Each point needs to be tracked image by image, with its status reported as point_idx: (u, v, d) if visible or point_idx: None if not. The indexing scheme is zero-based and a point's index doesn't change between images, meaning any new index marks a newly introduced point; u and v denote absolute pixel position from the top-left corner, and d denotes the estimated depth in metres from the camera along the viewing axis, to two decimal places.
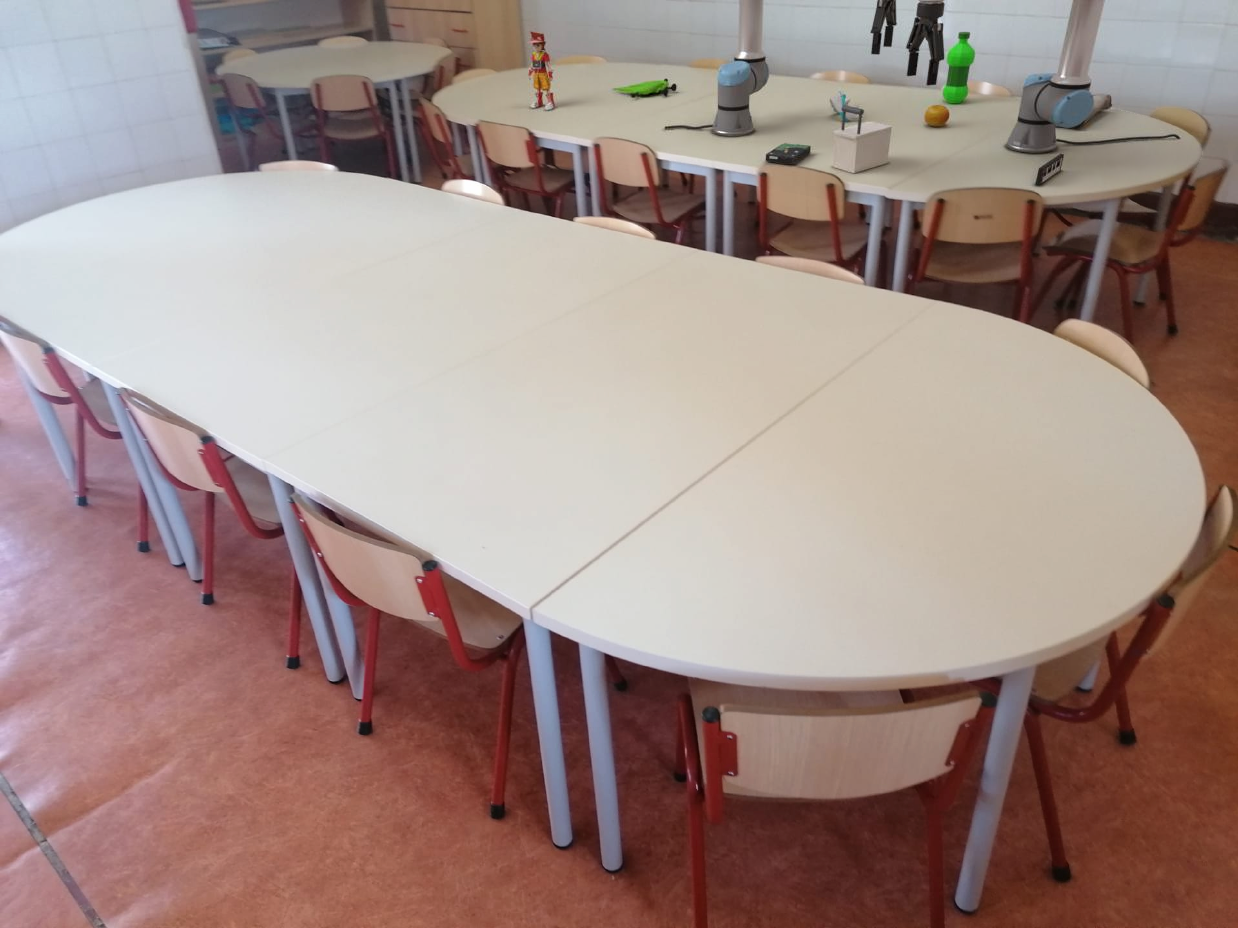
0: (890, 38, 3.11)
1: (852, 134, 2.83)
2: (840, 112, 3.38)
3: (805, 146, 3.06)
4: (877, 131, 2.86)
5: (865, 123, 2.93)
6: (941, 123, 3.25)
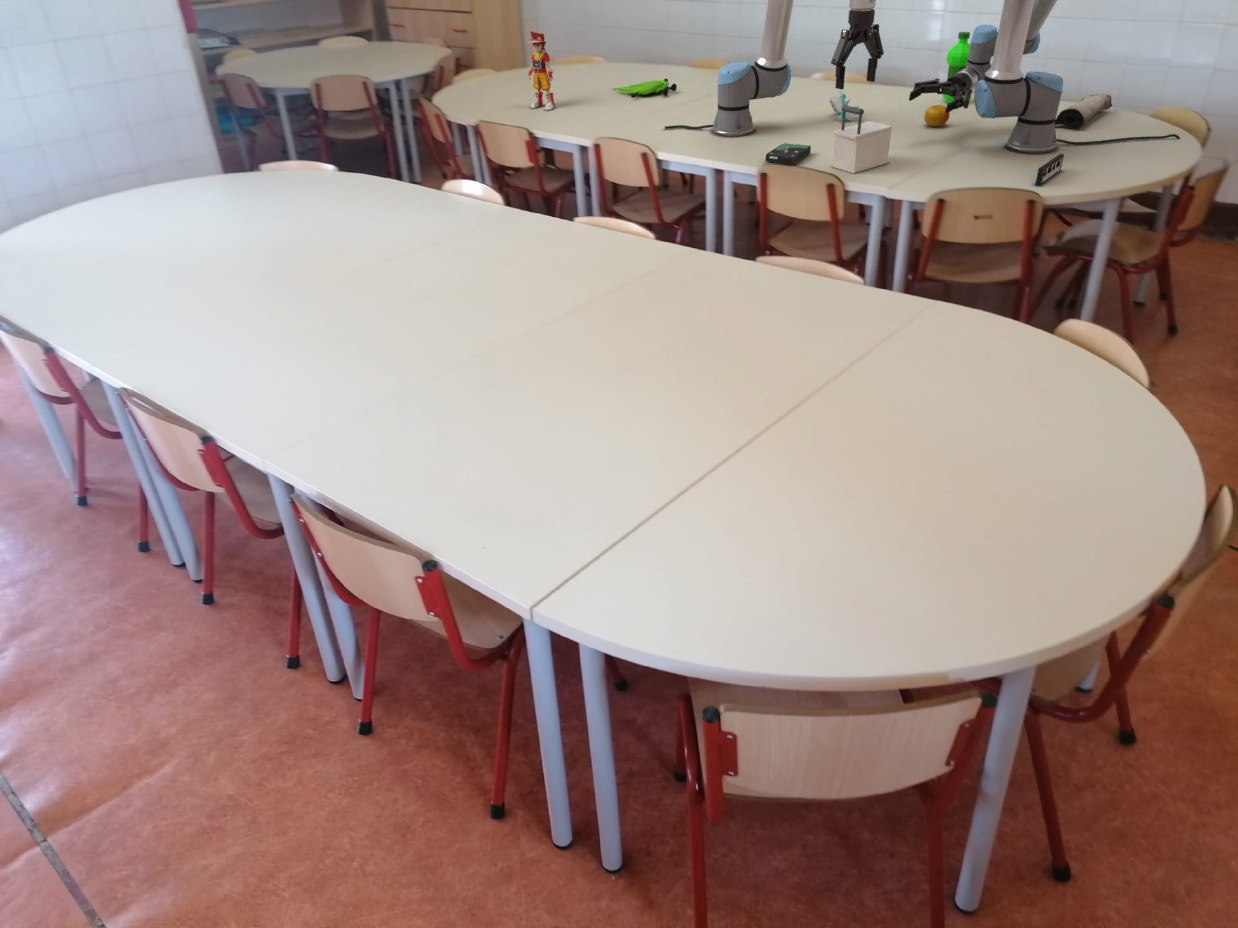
0: (872, 72, 2.78)
1: (852, 134, 2.83)
2: (840, 112, 3.38)
3: (805, 146, 3.06)
4: (877, 131, 2.86)
5: (865, 123, 2.93)
6: (941, 123, 3.25)
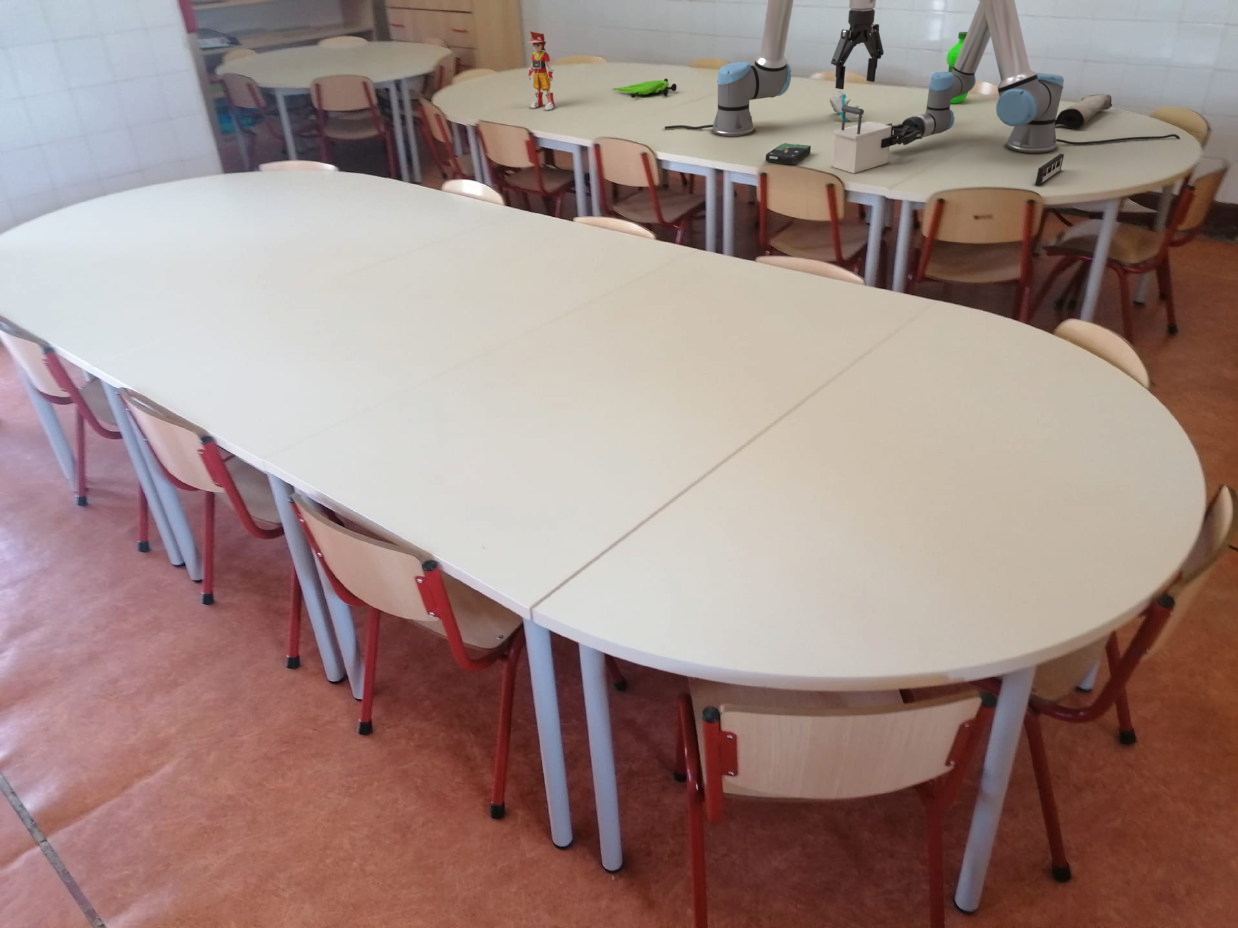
0: (872, 72, 2.78)
1: (852, 134, 2.83)
2: (840, 112, 3.38)
3: (805, 146, 3.06)
4: (877, 131, 2.86)
5: (865, 123, 2.93)
6: None
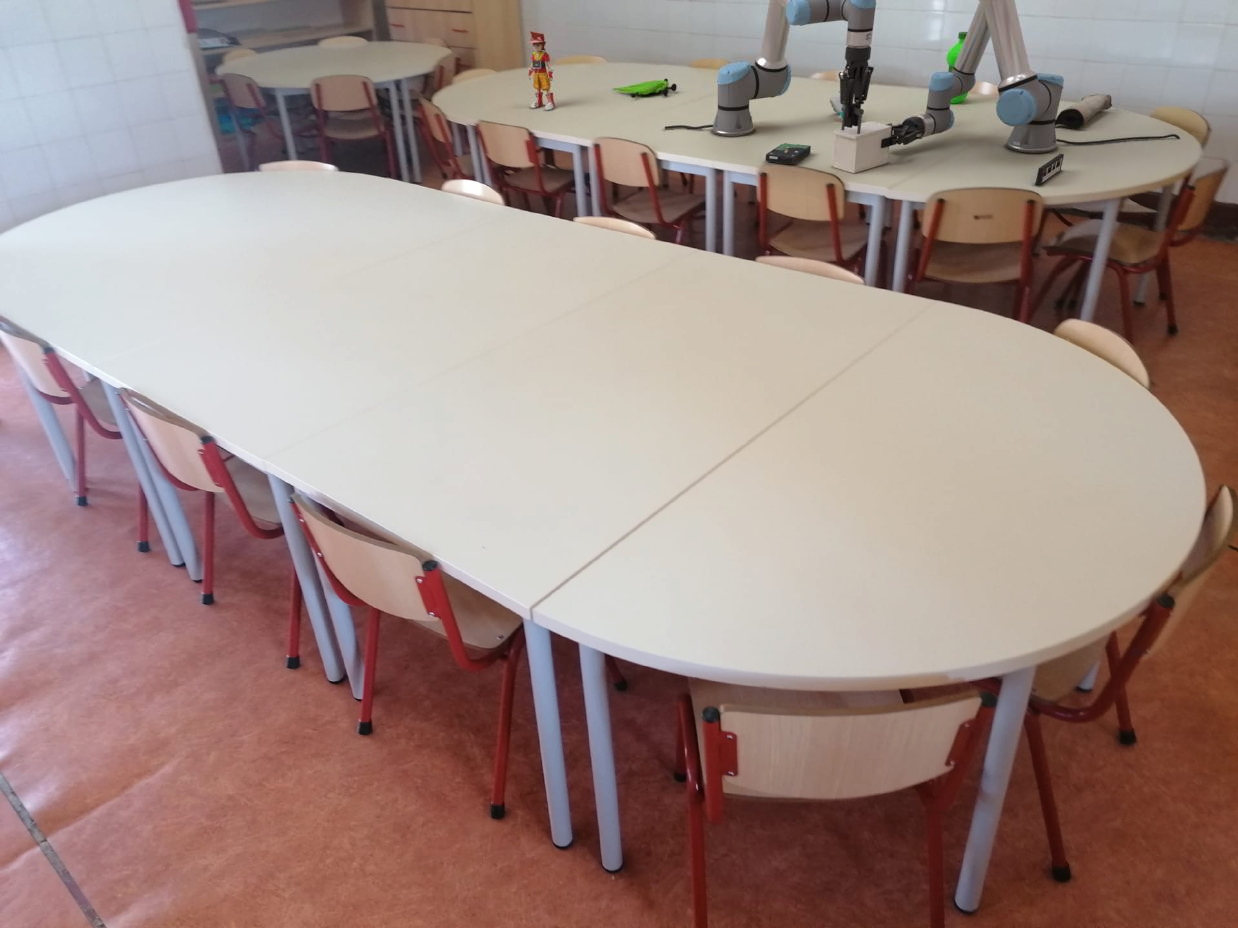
0: (856, 117, 2.83)
1: (852, 134, 2.83)
2: (840, 112, 3.38)
3: (805, 146, 3.06)
4: (877, 131, 2.86)
5: (865, 123, 2.93)
6: None
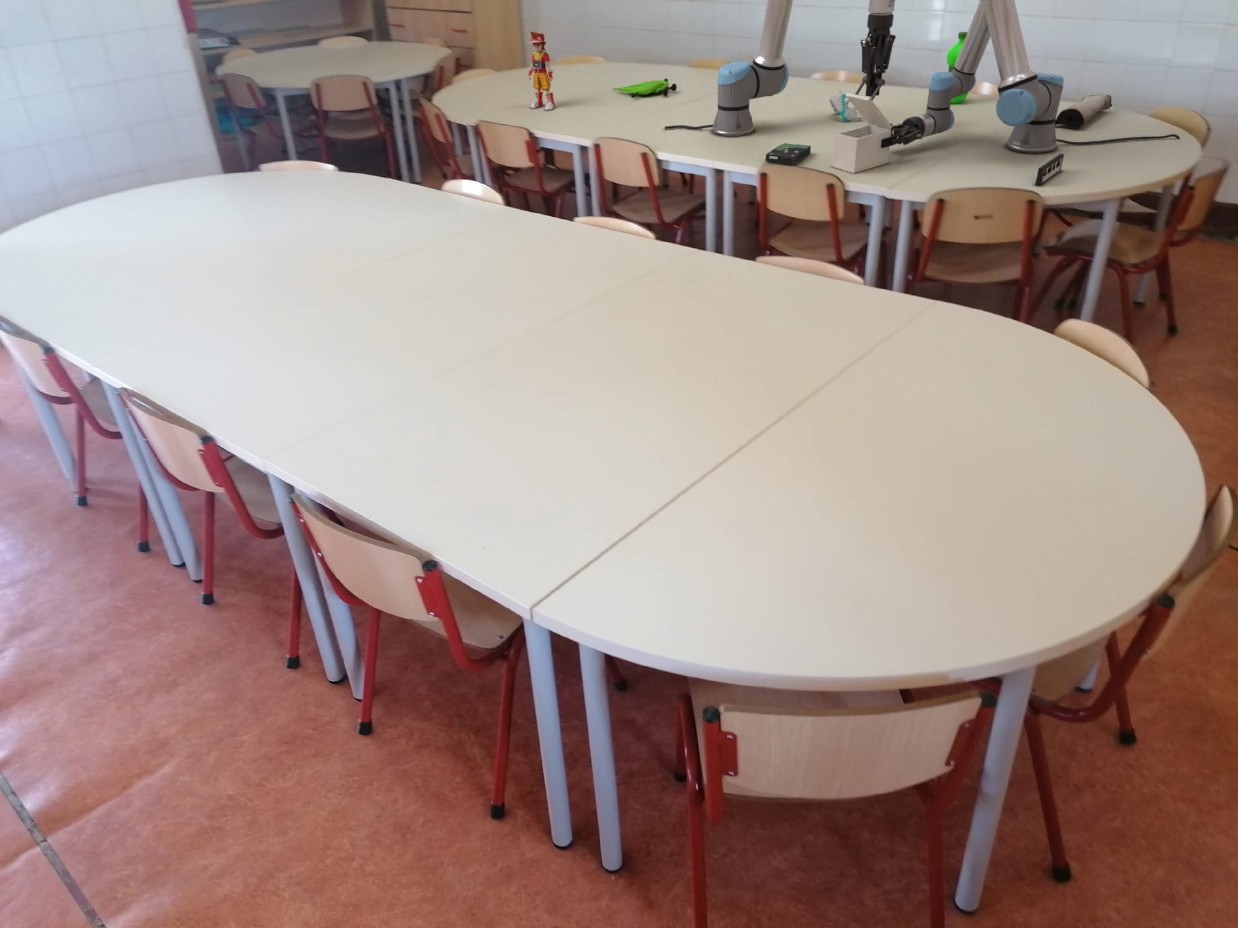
0: (877, 86, 2.82)
1: None
2: (840, 112, 3.38)
3: (805, 146, 3.06)
4: (882, 116, 2.84)
5: None
6: None
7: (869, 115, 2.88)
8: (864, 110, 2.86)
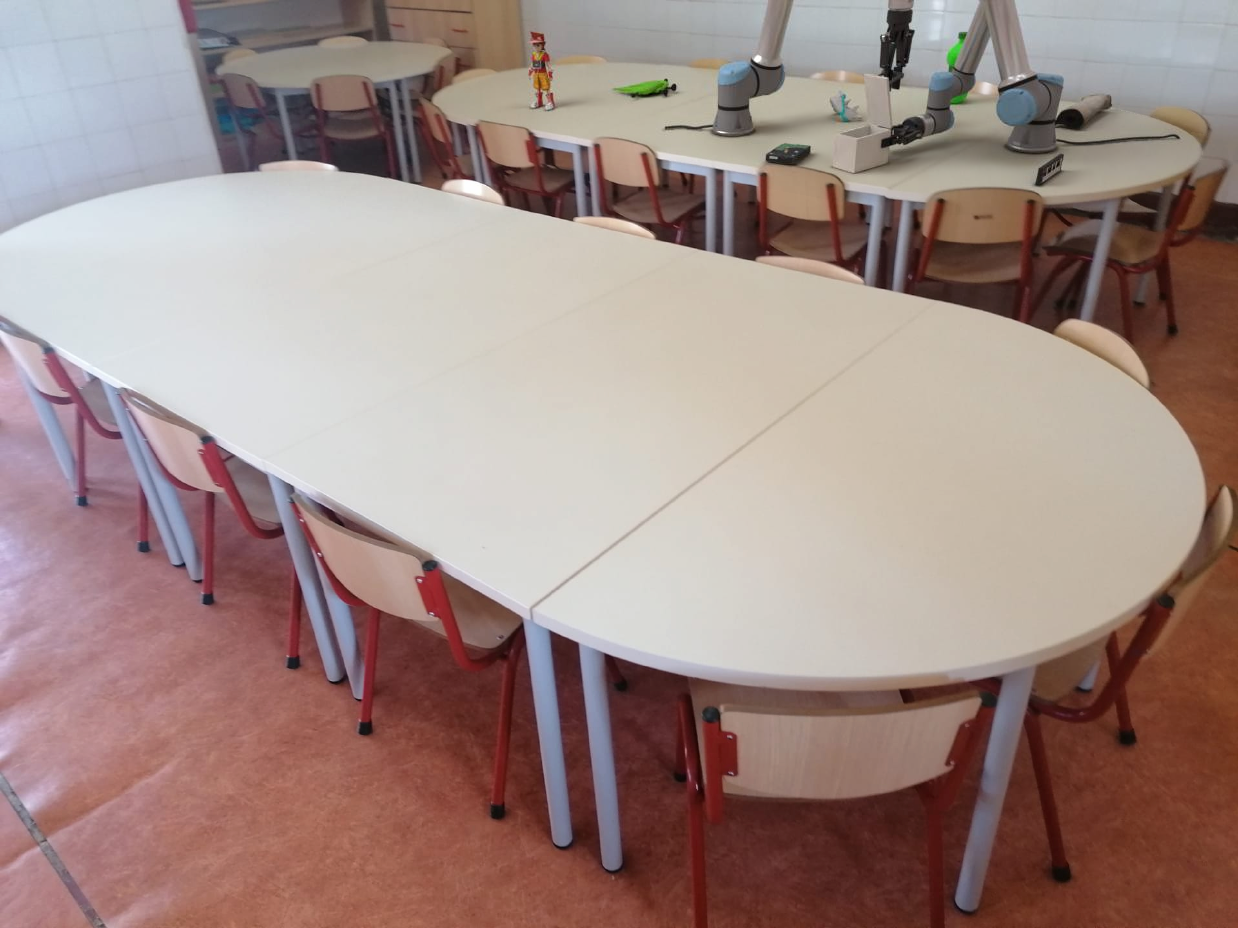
0: (897, 80, 2.86)
1: None
2: (840, 112, 3.38)
3: (805, 146, 3.06)
4: (890, 108, 2.85)
5: None
6: None
7: (876, 107, 2.88)
8: (874, 98, 2.86)
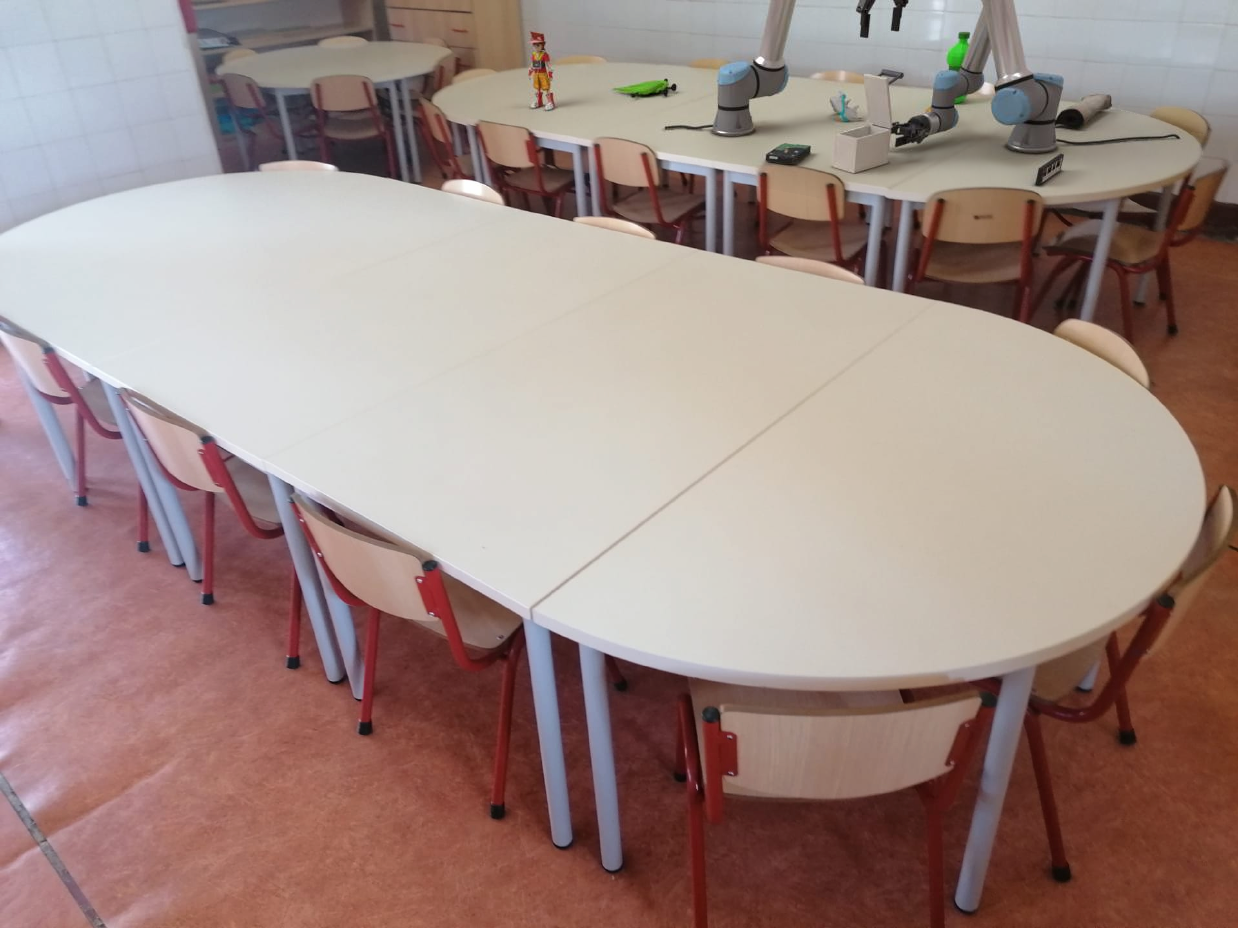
0: (897, 21, 2.75)
1: None
2: (840, 112, 3.38)
3: (805, 146, 3.06)
4: (890, 108, 2.85)
5: None
6: None
7: (876, 107, 2.88)
8: (874, 98, 2.86)
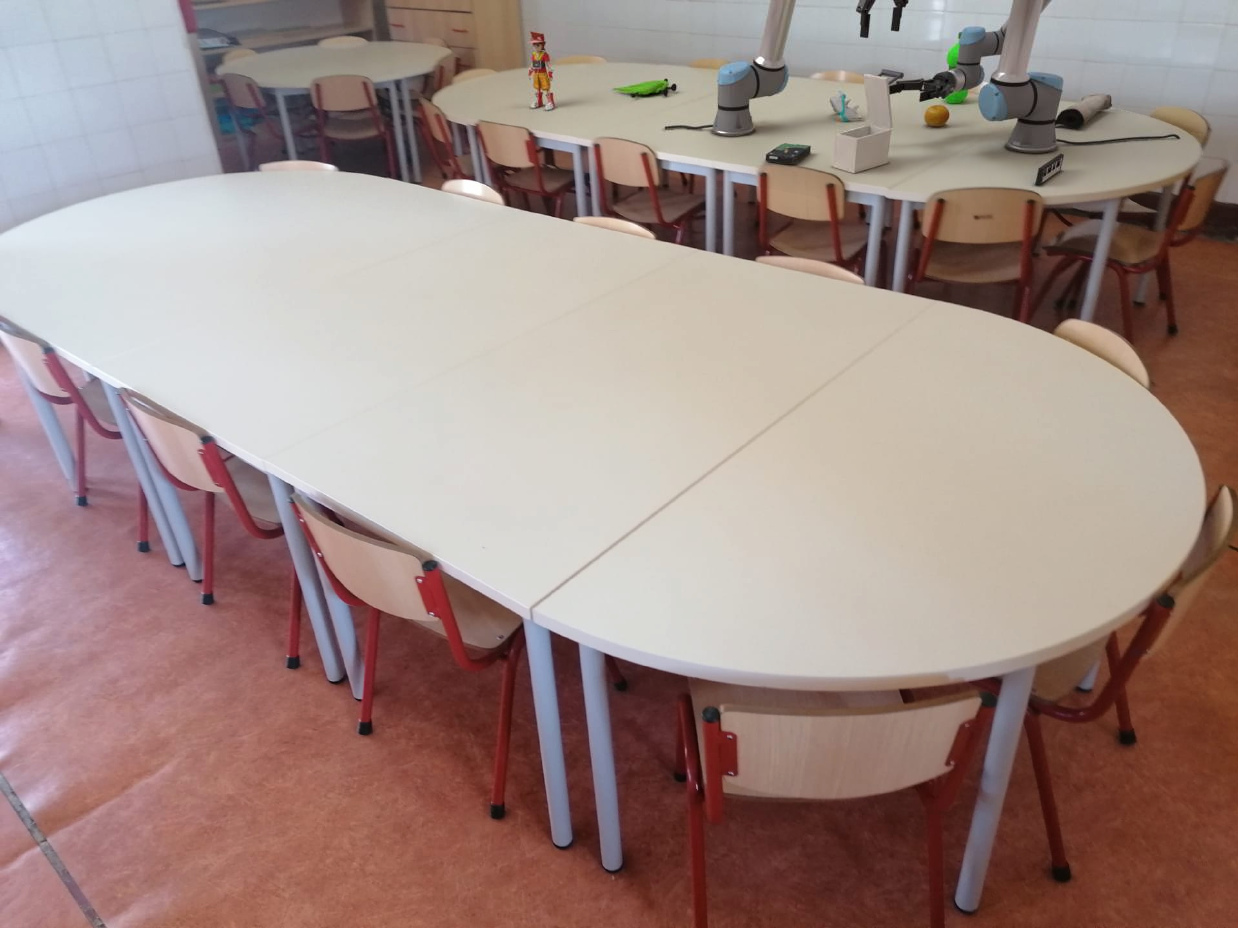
0: (897, 21, 2.75)
1: None
2: (840, 112, 3.38)
3: (805, 146, 3.06)
4: (890, 108, 2.85)
5: None
6: (941, 123, 3.25)
7: (876, 107, 2.88)
8: (874, 98, 2.86)
